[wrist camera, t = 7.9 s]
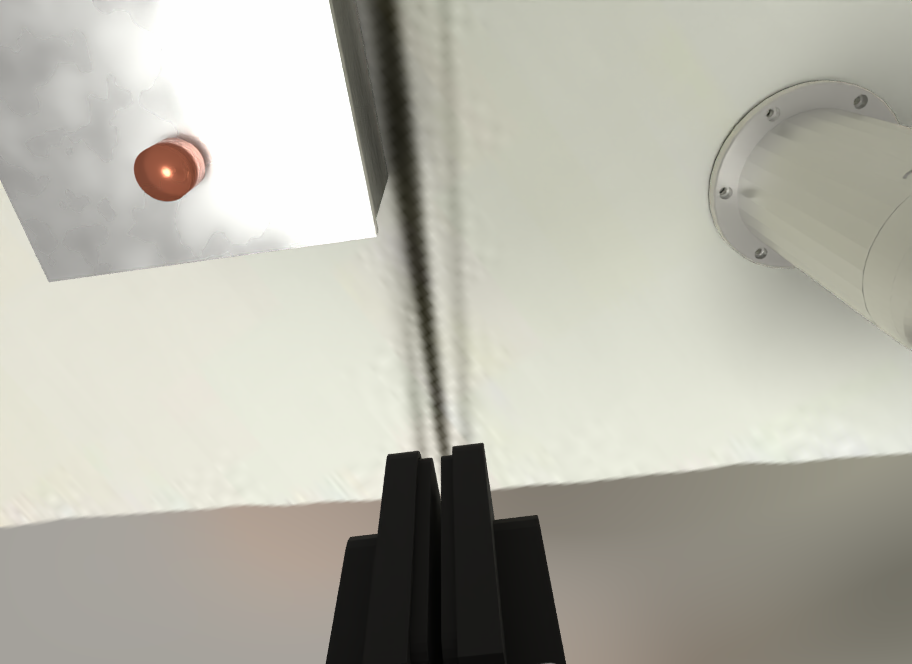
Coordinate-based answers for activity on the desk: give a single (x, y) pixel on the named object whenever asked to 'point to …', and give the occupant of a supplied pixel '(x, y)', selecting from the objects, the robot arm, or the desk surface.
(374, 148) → the grey open box
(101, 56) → the cooker lid
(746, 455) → the desk surface
